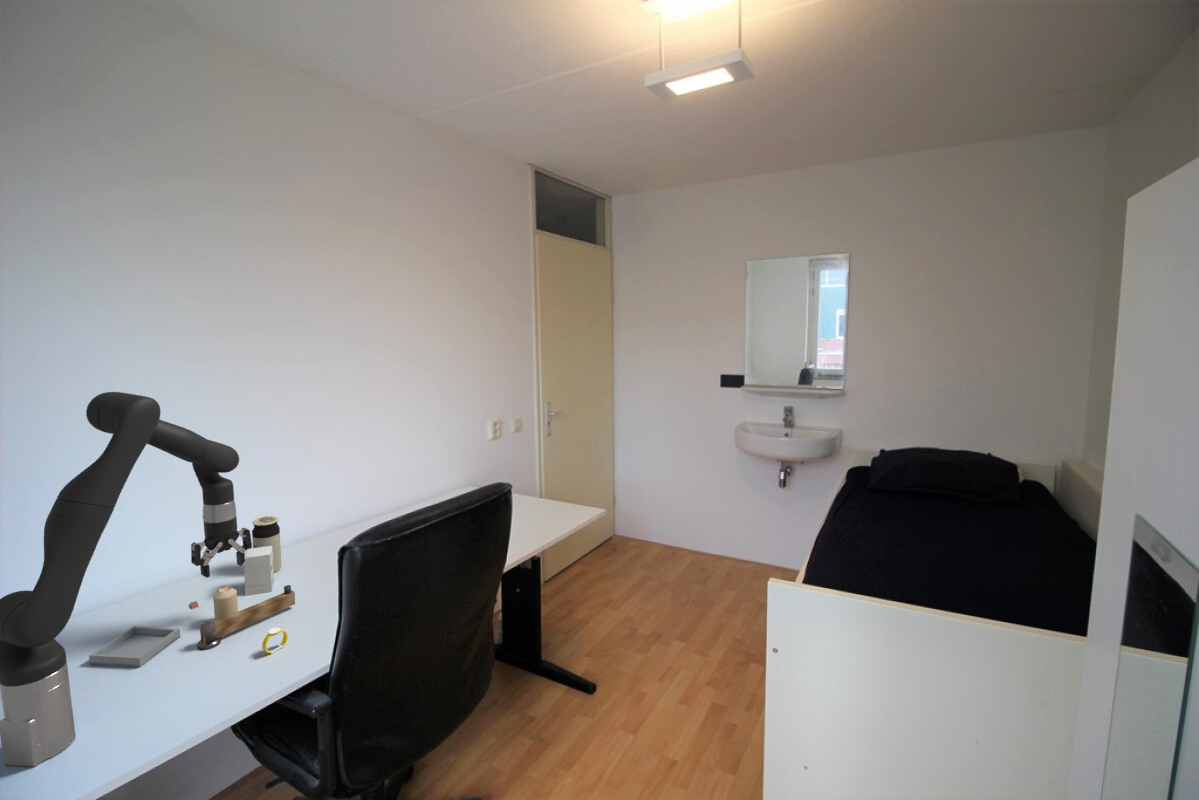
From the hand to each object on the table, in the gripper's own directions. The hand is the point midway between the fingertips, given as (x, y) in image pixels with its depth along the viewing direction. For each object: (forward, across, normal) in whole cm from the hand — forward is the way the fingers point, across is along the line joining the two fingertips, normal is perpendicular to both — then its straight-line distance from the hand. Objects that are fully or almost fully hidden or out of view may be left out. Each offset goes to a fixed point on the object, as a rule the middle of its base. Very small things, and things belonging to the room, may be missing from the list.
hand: (223, 570), depth 151 cm
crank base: (+16, -5, +4) cm, 17 cm away
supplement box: (+16, +15, +11) cm, 24 cm away
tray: (+15, -19, +4) cm, 25 cm away
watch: (+16, 0, -24) cm, 29 cm away
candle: (+16, 0, 0) cm, 16 cm away
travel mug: (+16, +22, +22) cm, 35 cm away
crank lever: (+14, +2, -8) cm, 16 cm away
